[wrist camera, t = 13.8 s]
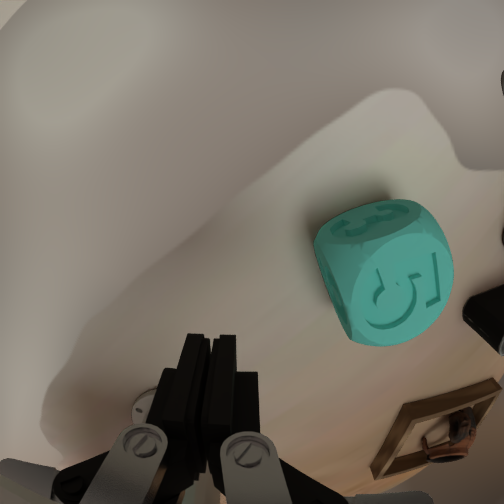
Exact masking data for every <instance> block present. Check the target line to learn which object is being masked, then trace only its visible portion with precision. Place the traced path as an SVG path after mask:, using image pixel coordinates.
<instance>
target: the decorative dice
mask: <svg viewBox="0 0 504 504" xmlns="http://www.w3.org/2000/svg"><path fill="white" fill-rule="evenodd" d="M313 244H314V250H315V254H316V258H317V261H318V264H319V267H320V270H321V273H322V276H323V279H324V282H325V285H326V287H327V290H328V293H329V295H330V298H331V301H332V303H333V306H334V308H335V311H336V313H337V315H338V318H339V320H340V322H341V324H342V326H343V329H344V330H345V332H346V334H347V336H348V337H349V339H350V340H352V341H355V342H357V343H361V344H364V345H370V346H391V345H396V344H400V343H403V342H406V341H408V340H410V339H412V338H414V337H416V336H418V335H419V334H421V333H422V332H424V331H425V330H426V329H427V328H428V327H429V326H430V325H431V324H432V323H433V322H434V321H435V320H436V319H437V318H438V316H439V315H440V313H441V312H442V310H443V309H444V307H445V305H446V303H447V301H448V298H449V295H450V292H451V288H452V284H453V278H454V268H453V260H452V256H451V252H450V248H449V245H448V242H447V240H446V237H445V235H444V233H443V231H442V229H441V228H440V226H439V224H438V223H437V221H436V220H435V218H434V217H433V216H432V215H431V214H430V212H429V211H428V210H426V209H425V208H424V207H423V206H421V205H420V204H418V203H416V202H414V201H411V200H401V199H397V200H385V201H379V202H374V203H370V204H366V205H363V206H360V207H357V208H354V209H351V210H349V211H347V212H344V213H342V214H340V215H338V216H336V217H334V218H333V219H331V220H330V221H328V222H327V223H326V224H324V225H323V226H322V227H321V228H320V230H319V232H318V234H317V236H316V238H315V240H314V243H313Z"/></svg>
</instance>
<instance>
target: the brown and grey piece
mask: <svg viewBox="0 0 504 504" xmlns="http://www.w3.org/2000/svg"><path fill="white" fill-rule="evenodd" d="M501 86H502V91H503V95H504V71H503V72H502V75H501Z"/></svg>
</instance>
